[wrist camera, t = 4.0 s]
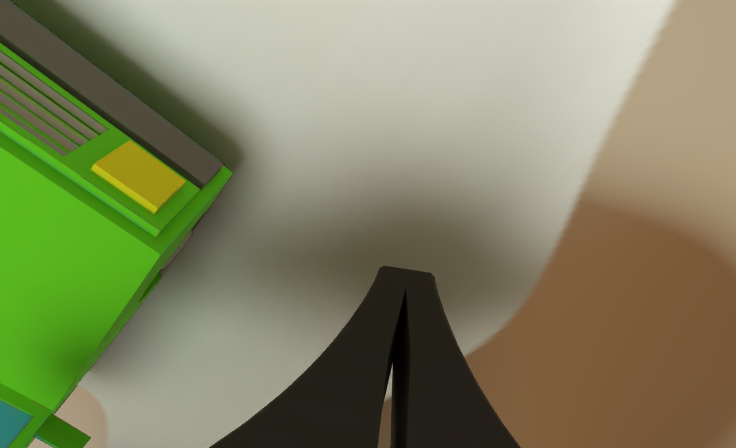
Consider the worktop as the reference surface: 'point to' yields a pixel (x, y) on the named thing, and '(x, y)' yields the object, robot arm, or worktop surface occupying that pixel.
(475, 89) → the worktop surface
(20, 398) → the toy car
